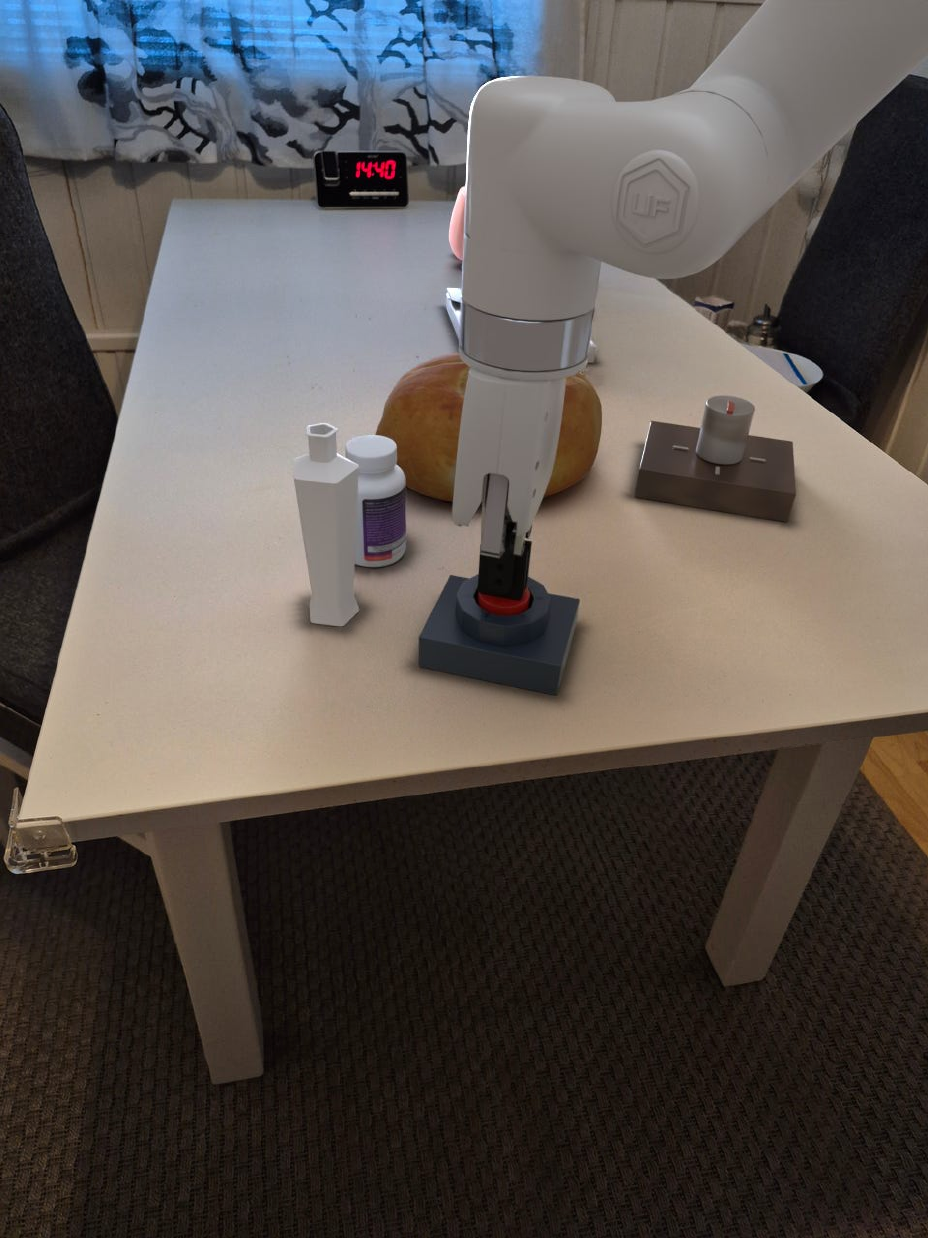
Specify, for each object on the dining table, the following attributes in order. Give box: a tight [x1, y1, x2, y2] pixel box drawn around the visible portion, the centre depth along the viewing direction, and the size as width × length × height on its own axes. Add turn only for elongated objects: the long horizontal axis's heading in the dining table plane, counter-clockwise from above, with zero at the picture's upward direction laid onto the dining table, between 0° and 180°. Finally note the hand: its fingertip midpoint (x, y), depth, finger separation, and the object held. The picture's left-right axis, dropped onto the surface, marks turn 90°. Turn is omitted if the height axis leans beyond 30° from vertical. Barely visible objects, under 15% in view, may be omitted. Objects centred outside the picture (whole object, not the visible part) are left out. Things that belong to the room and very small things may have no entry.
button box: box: [418, 573, 581, 696], centre depth 63 cm, size 10×8×4 cm
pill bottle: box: [344, 434, 407, 568], centre depth 71 cm, size 5×5×10 cm
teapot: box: [448, 185, 466, 267], centre depth 139 cm, size 20×12×12 cm, turn 6°
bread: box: [374, 352, 603, 505], centre depth 84 cm, size 23×23×10 cm
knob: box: [696, 395, 756, 465], centre depth 82 cm, size 4×4×5 cm
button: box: [478, 587, 530, 616], centre depth 62 cm, size 4×4×2 cm
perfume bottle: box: [292, 422, 360, 627], centre depth 62 cm, size 5×4×15 cm
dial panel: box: [633, 420, 797, 523], centre depth 85 cm, size 14×11×3 cm
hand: (502, 590), depth 61 cm, fingers closed
